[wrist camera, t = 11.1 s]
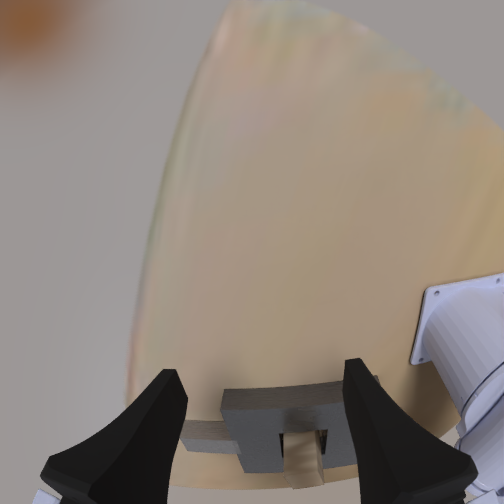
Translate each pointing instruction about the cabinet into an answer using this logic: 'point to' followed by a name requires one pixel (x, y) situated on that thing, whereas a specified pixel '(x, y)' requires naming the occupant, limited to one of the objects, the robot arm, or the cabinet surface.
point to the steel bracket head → (275, 425)
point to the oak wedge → (303, 459)
